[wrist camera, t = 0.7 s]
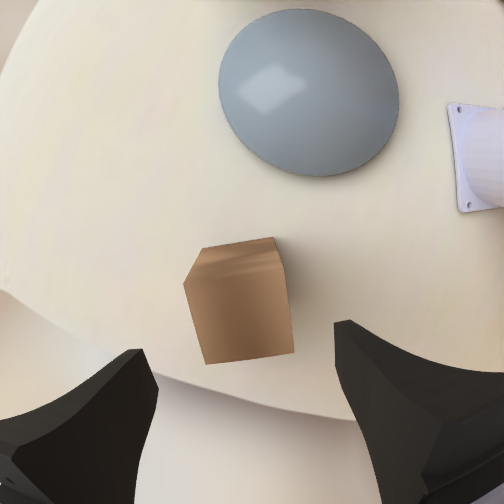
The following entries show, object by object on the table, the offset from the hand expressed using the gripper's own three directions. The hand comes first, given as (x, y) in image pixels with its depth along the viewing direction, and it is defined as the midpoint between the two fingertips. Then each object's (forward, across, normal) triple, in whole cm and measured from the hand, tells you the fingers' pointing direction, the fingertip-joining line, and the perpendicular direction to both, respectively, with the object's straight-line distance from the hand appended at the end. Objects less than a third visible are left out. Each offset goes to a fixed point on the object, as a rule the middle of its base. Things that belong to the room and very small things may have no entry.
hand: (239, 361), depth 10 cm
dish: (+9, -6, -11) cm, 15 cm away
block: (+9, 0, 0) cm, 9 cm away
